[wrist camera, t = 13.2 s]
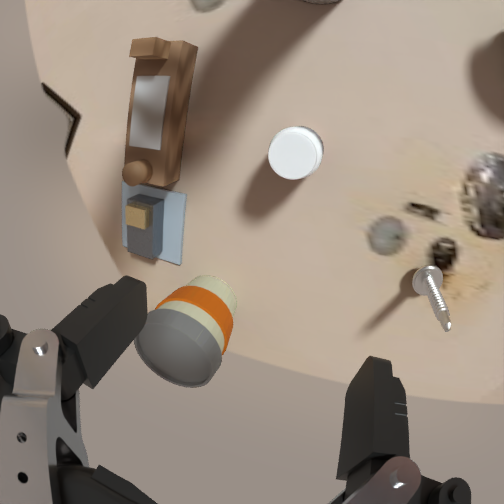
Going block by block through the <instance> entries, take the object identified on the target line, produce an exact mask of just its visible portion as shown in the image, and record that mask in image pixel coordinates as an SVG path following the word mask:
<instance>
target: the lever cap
mask: <svg viewBox="0 0 504 504" xmlns="http://www.w3.org/2000/svg"><path fill="white" fill-rule="evenodd" d="M164 202H165V200H164V199H160V198H156V197H151V196H147V195H142V194H137V195H135V196H132V197H130V198H128V199H127V205H125V215H126V224H127V248H128V252H131V253H134V254H137V255H140V256H143V257H146V258H149V259H152V260H153V259H154V258H155V257H156V256H157V255H159V254H160V253H161V252H162V251H163V222H164Z"/></svg>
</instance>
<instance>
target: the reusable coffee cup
mask: <svg viewBox="0 0 504 504" xmlns="http://www.w3.org/2000/svg"><path fill="white" fill-rule="evenodd" d="M236 307H237V300H236V296H235V294H234V292H233V290H232V289H231V288H230V286H229V285H228V284H226V283H225V282H224V281H222V280H221V279H219V278H216V277H214V276H207V275H204V276H199V277H197V278H195V279H194V280H192V281H191V282H190V283H189V284H187V285H186V286H183V287H181V288H178V289H177V290H176V291H174V292H173V293H172V294H171V295H169V296H168V297H167V298H165V299H164V300H163V301H162V302H160V303H159V304H158V305H157V307H156V308H155V310H153V311H150V312H149V313H148V314H147V320H146V323H145V326H144V327H143V329H142V330H141V332H140V333H139V334H138V335H137V336H136V337H135V339H134V344H135V348H136V350H137V352H138V354H139V356H140V357H141V359H142V360H143V361H144V363H145V364H146V365H147V366H148V367H149V368H150V369H151V370H152V371H153V372H155V373H156V374H157V375H159V376H160V377H162V378H163V379H165V380H167V381H169V382H171V383H173V384H176V385H179V386H183V387H190V388H196V387H201V386H204V385H206V384H207V383H208V382H209V381H210V380H211V378H212V377H213V376H214V374H215V373H216V371H217V370H218V368H219V367H220V365H221V362H222V355H223V354H224V352H225V351H226V348H227V345H228V341H229V338H230V335H231V332H232V328H233V316H234V313H235V310H236Z"/></svg>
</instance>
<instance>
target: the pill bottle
mask: <svg viewBox="0 0 504 504" xmlns="http://www.w3.org/2000/svg"><path fill="white" fill-rule="evenodd" d="M323 152H324V147H323V142H322V140H321V138H320V136H319V135H318V134H317V133H316V132H315V131H314V130H312V129H310V128H308V127H304V126H297V127H288V128H285V129H283V130H281V131H280V132H278V133H277V134H276V135H275V136H274V137H273V139H272V141H271V143H270V146H269V151H268V159H269V163H270V165H271V167H272V169H273V170H274V171H275V172H276V173H277V174H278V175H279V176H281V177H283V178H286V179H291V180H296V179H302V178H305V177H308V176H310V175H311V174H313V173H314V172H315V171H316V170H317V168H318V167H319V165H320V163H321V160H322V156H323Z"/></svg>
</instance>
